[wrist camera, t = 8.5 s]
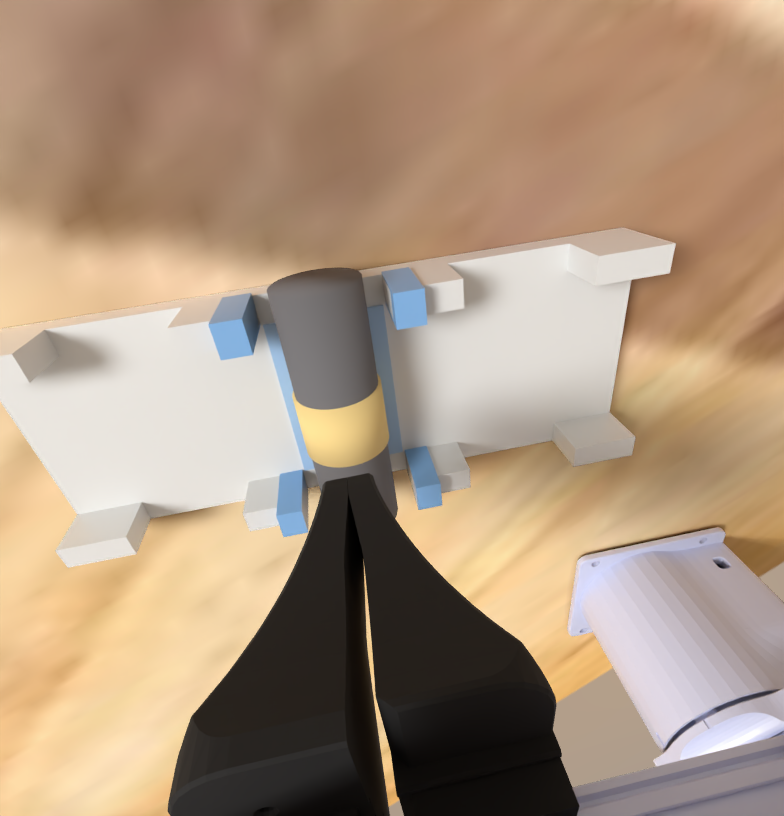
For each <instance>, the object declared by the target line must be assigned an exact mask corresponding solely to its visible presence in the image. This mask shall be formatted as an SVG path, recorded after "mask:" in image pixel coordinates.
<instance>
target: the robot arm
mask: <svg viewBox="0 0 784 816" xmlns="http://www.w3.org/2000/svg"><path fill="white" fill-rule="evenodd" d="M347 478H348V479H347ZM725 534H726V533H725V532H724V531H723V530H722V529H721V528H719V527H716V528H711V529H706V530H702V531H697V532H692V533H688V534H683V535H678V536H674V537H669V538H664V539H660V540H655V541H650V542H646V543H641V544H636V545H632V546H627V547H622V548H618V549H613V550H608V551H604V552H599V553H594V554H590V555H585V556H582V557H581V558H580V559H579V560H578V562H577V567H576V573H575V580H574V587H573V593H572V600H571V607H570V613H569V620H568V627H567V631H568V633H569V634H570V635H571V636H578V635H582V634H587V633H591V632H593V633H594V635H595V637H596V638H597V640H598V642H599V644H600V645H601V647H602V649H603V651H604V652H605V654H606V656H607V658H608V660H609V661H610V663H611V665H612V667H613V668H614V670H615V672H616V674H617V675H618V677H619V679H620V681H621V682H622V684H623V686H624V688H625V689H626V691H627V693H628V695H629V697H630V698H631V700H632V702H633V704H634V705H635V707H636V709H637V710H638V712H639V714H640V716H641V718H642V719H643V721H644V723H645V724H646V727H647V728H648V730H649V732H650V733H651V735H652V737H653V739H654V741H655V742H656V744H657V746H658V748H659V749H660V751H661V753H662V754H661V755H660V756H658V757H657V758H655V759H654V763H655V765H656V767H653V768H649V769H644V770H641V771H637V772H632V773H629V774H624V775H620V776H616V777H613V778H609V779H604V780H600V781H596V782H592V783H588V784H584V785H580V786H577V787H572V786H571V784H570V781H569V778H568V776H567V773H566V771H565V768H564V766H563V763H562V761H561V758H560V757H561V756H562V753H561V749H560V747H559V744H558V742H557V739H556V737H555V734H554V732H553V724H554V718H555V711H556V699H555V695H554V693H553V691H552V689H551V687H550V685H549V683H548V681H547V679H546V678H545V676H544V674H543V672H542V671H541V669H540V668H539V666H538V665H537V663H536V662H535V660H534V659H533V657H532V656H531V654H530V653H529V652H528V650H527V649H526V648H525V646H524V645H523V644H522V642H521V641H519V640H518V639H517V638H515V637H514V636H512V635H511V634H510V633H508V632H507V631H505V630H504V629H503V628H501V627H500V626H499V625H497V624H496V623H495V622H493V621H492V620H491V619H490V618H488V617H487V616H486V615H485V614H483V613H482V612H481V611H480V610H478V609H477V608H476V607H475V606H474V605H472V604H471V603H470V602H469V601H468V600H467V599H466V598H465V597H464V596H462V595H461V594H460V593H459V592H458V591H457V590H456V589H455V588H454V587H453V586H451V585H450V584H449V583H448V582H447V581H446V580H445V579H444V578H443V577H442V576H441V575H440V574H439V573H438V572H437V571H436V570H435V569H434V567H433V566H432V565H431V564H430V563H429V562H428V561H427V560H426V559H425V557H424V556H423V555H422V554H421V553H420V552H419V550H418V549H417V548H416V547H415V545H414V544H413V543H412V542H411V540H410V539H409V538H408V536H407V535H406V534H405V532H404V531H403V530H402V528H401V527H400V525H399V524H398V522H397V521H396V519H395V518H394V516H393V515H392V513H391V512H390V510H389V509H388V507H387V505H386V504H385V502H384V500H383V498H382V496H381V494H380V492H379V490H378V488H377V486H376V483H375V480H374V477H373V475H371V474H370V473H366V474H361V475H356V476H351V477H346V478H340V479H335V480H330V481H326V482H325V483H324V484H323V486H322V492H321V496H320V500H319V504H318V507H317V510H316V513H315V517H314V520H313V522H312V525H311V528H310V531H309V533H308V536H307V539H306V541H305V544H304V546H303V548H302V551H301V553H300V555H299V557H298V560H297V562H296V564H295V566H294V569H293V571H292V573H291V575H290V577H289V579H288V581H287V583H286V585H285V586H284V588H283V590H282V592H281V594H280V596H279V597H278V599H277V601H276V603H275V604H274V606H273V608H272V609H271V611H270V613H269V614H268V616H267V617H266V619H265V621H264V622H263V624H262V625H261V627H260V629H259V630H258V632H257V633H256V635H255V636H254V638H253V639H252V640H251V642H250V643H249V644H248V646H247V647H246V649H245V650H244V651H243V653H242V654H241V656H240V657H239V658H238V660H237V661H236V663H235V664H234V665H233V667H232V668H231V669H230V671H229V672H228V673H227V674H226V676H225V677H224V678H223V680H222V681H221V682H220V683H219V684H218V686H217V687H216V688H215V689H214V690H213V692H212V693H211V694H210V695H209V696H208V698H207V699H206V700H205V701H204V702H203V704H202V705H201V706H200V707H199V708H198V710H197V711H196V712H195V713H194V714H193V715H192V717H191V719H190V722H189V725H188V728H187V731H186V734H185V736H184V740H183V743H182V746H181V749H180V752H179V755H178V759H177V763H176V768H175V773H174V778H173V783H172V788H171V793H170V797H169V803H168V813H169V814H170V816H390V814H389V807H388V800H387V793H386V786H385V779H384V772H383V764H382V757H381V750H380V743H379V735H378V728H377V721H376V713H375V706H374V698H373V691H372V683H371V675H370V667H369V660H368V651H367V638H366V613H365V587H364V566H365V575H366V585H367V595H368V605H369V615H370V627H371V638H372V650H373V664H374V677H375V692H376V699H377V703H378V706H379V710H380V714H381V717H382V721H383V725H384V728H385V732H386V736H387V739H388V743H389V747H390V750H391V756H392V763H393V771H394V779H395V786H396V793H397V797H399V799H400V803H401V806H402V810H403V813H404V816H784V602H783V601H781V599H780V598H778V596H777V595H776V594H775V593H773V591H772V590H771V589H769V587H768V586H766V584H764V583H763V582H762V581H761V580H760V579H759V578H758V577H757V576H756V575H755V574H754V573H753V572H752V571H751V570H750V569H749V568H748V567H747V566H746V565H745V564H744V563H743V562H742V561H741V560H740V559H739V558H738V557H737V556H736V555H735V554H734V553H733V552H732V551H731V550H730V549H729V548H728V547H727V546H726V545H725V544H724V543H723V540H724V538H725ZM363 560H364V563H363Z"/></svg>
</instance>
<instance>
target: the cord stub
mask: <svg viewBox="0 0 784 816" xmlns="http://www.w3.org/2000/svg"><path fill="white" fill-rule="evenodd" d="M267 295H268V298H269V302H270V306H271V310H272V313H273V317H274V321H275V324H276V328H277V332H278V335H279V339H280V343H281V346H282V350H283V354H284V357H285V361H286V365H287V369H288V372H289V376H290V380H291V383H292V387H293V393H292V398H293V402H294V405H295V409H296V413H297V416H298V420H299V423H300V427H301V431H302V434H303V438H304V442H305V445H306V449H307V452H308V455H309V457H310V458H311V459H312V461H313V464H314V468H315V472H316V475H317V479H318V483H319V487H320V490H321V492H322V486H323V484H324V483H325V482H326V481H330V480H335V479H340V478H346V477H351V476H356V475H361V474H366V473H370V474H371V475H373V477H374V480H375V483H376V486H377V488H378V490H379V492H380V494H381V496H382V498H383V500H384V502H385V504H386V505H387V507H388V509H389V510H390V512H391V513H392V515H393V516H394V518H396V515H397V511H398V507H397V500H396V493H395V487H394V480H393V474H392V467H391V461H390V454H389V448H388V441H389V431H388V424H387V417H386V411H385V404H384V397H383V391H382V384H381V379H380V376H379V375H378V374H377V370H376V363H375V357H374V350H373V344H372V337H371V331H370V324H369V318H368V311H367V305H366V298H365V292H364V285H363V279H362V274H361V273H360V272H359V271H357V270H354V269H349V268H324V269H316V270H310V271H305V272H301V273H297V274H293V275H290V276H287V277H285V278H282V279H280V280H278V281H276V282H274V283H273V284H271V285H270V286H269V287H268V288H267ZM347 479H348V478H347Z"/></svg>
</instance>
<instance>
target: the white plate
mask: <svg viewBox="0 0 784 816" xmlns="http://www.w3.org/2000/svg"><path fill="white" fill-rule="evenodd" d="M675 245H676V243H673V242H670V241H667V240H663V239H660V238H657V237H653V236H650V235H647V234H643V233H640V232H637V231H634V230H630V229H627V228H624V227H622V228H616V229H610V230H604V231H598V232H592V233H586V234H579V235H573V236H567V237H561V238H555V239H549V240H543V241H536V242H530V243H524V244H518V245H512V246H506V247H500V248H494V249H487V250H481V251H475V252H469V253H463V254H457V255H451V256H444V257H438V258H432V259H426V260H420V261H414V262H408V263H401V264H395V265H389V266H383V267H377V268H371V269H365V270H358V271H359V272H360V273H361V274H362V279H363V285H364V292H365V298H366V305H367V311H368V318H369V324H370V331H371V337H372V344H373V350H374V357H375V363H376V370H377V374H378V375H379V376H380V379H381V384H382V391H383V397H384V404H385V411H386V417H387V424H388V431H389V441H388V448H389V454H390V461H391V467H392V472H393V471H398V470H403V469H407V471H408V475H409V478H410V482H411V485H412V489H413V492H414V495H415V499H416V502H417V506H418V509H419V510H421V509H426V508H431V507H436V506H441V505H442V496H441V493H445V492H450V491H455V490H460V489H465V488H470V469H469V466H468V464H467V462H466V460H465V457H470V456H475V455H480V454H485V453H491V452H496V451H501V450H506V449H511V448H516V447H521V446H526V445H532V444H537V443H542V442H547V441H553V442H554V443H555V444H556V446H557V447H558V448H559V449H560V451H561V452H562V453H563V455H564V456H565V457H566V458H567V460H568V461H569V462H570V463H571V465H572V466H573V467H575V466H580V465H585V464H590V463H595V462H600V461H605V460H610V459H615V458H620V457H625V456H630V455H632V452H633V448H634V443H635V438H636V437H635V436H634V435H633V434H632V433H631V432H630V431H629V430H628V429H627V428H626V427H625V426H624V425H623V424H622V423H620V422H619V421H618V420H617V419H616V418H615V417H614V416H613V415H612V414H611V413H610V407H611V401H612V394H613V388H614V382H615V376H616V370H617V364H618V358H619V352H620V346H621V339H622V333H623V327H624V321H625V315H626V309H627V303H628V297H629V291H630V284H631V280H633V279H639V278H645V277H651V276H657V275H662V274H668V273H670V269H671V264H672V260H673V255H674V250H675ZM269 286H270V285H266V286H260V287H254V288H248V289H242V290H236V291H229V292H223V293H217V294H211V295H205V296H199V297H193V298H186V299H180V300H174V301H168V302H162V303H156V304H150V305H143V306H137V307H131V308H125V309H119V310H113V311H107V312H100V313H94V314H88V315H82V316H76V317H70V318H64V319H57V320H51V321H45V322H39V323H33V324H27V325H21V326H14V327H8V328H2V329H0V402H1V403H2V404H3V406H4V407H5V409H6V410H7V412H8V413H9V415H10V416H11V418H12V419H13V421H14V422H15V424H16V425H17V427H18V428H19V429H20V431H21V432H22V434H23V435H24V437H25V438H26V440H27V441H28V443H29V444H30V446H31V447H32V449H33V450H34V452H35V453H36V454H37V456H38V457H39V459H40V460H41V462H42V463H43V465H44V466H45V468H46V469H47V471H48V472H49V474H50V475H51V477H52V478H53V479H54V481H55V482H56V484H57V485H58V487H59V488H60V490H61V491H62V493H63V494H64V496H65V497H66V499H67V500H68V502H69V503H70V504H71V506H72V507H73V509H74V510H75V512H76V513H77V516H76V518H75V519H74V521H73V522H72V524H71V526H70V527H69V529H68V531H67V532H66V534H65V536H64V537H63V539H62V541H61V542H60V544H59V546H58V547H57V549H56V550H55V551H56V553H57V554H58V555H59V557H60V558H61V559H62V560H63V562H64V563H65V564H66V566H67V567H68V568H69V567H74V566H79V565H84V564H89V563H94V562H99V561H104V560H109V559H114V558H119V557H124V556H129V555H134V554H137V551H138V549H139V546H140V544H141V542H142V539H143V537H144V534H145V532H146V529H147V527H148V525H149V522H150V520H151V518H157V517H162V516H167V515H172V514H177V513H182V512H187V511H193V510H198V509H203V508H208V507H213V506H218V505H223V504H228V503H234V502H239V501H244V500H245V505H244V511H243V515H244V518H245V520H246V523H247V525H248V528H249V530H250V531H254V530H259V529H264V528H269V527H274V526H279V525H280V528H281V531H282V534H283V537H287V536H292V535H297V534H302V533H307V532H308V488H311V487H316V486H319V483H318V479H317V475H316V472H315V468H314V464H313V461H312V459H311V458H310V457H309V455H308V452H307V449H306V445H305V442H304V438H303V434H302V431H301V427H300V423H299V420H298V416H297V413H296V409H295V405H294V402H293V398H292V393H293V387H292V383H291V380H290V376H289V372H288V369H287V365H286V361H285V357H284V354H283V350H282V346H281V343H280V339H279V335H278V332H277V328H276V324H275V321H274V317H273V313H272V310H271V306H270V302H269V298H268V295H267V288H268V287H269Z"/></svg>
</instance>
